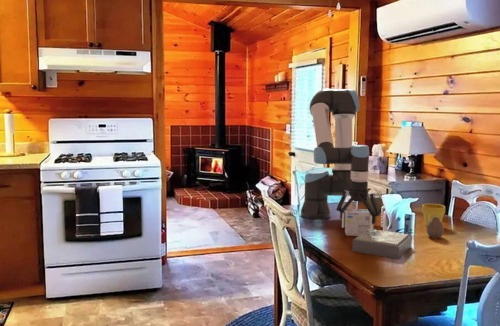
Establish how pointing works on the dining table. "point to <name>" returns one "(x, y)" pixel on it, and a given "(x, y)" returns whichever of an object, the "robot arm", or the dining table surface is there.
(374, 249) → the stand
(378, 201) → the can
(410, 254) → the dining table surface
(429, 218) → the plant pot
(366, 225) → the light bulb box
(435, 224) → the gray brown egg
